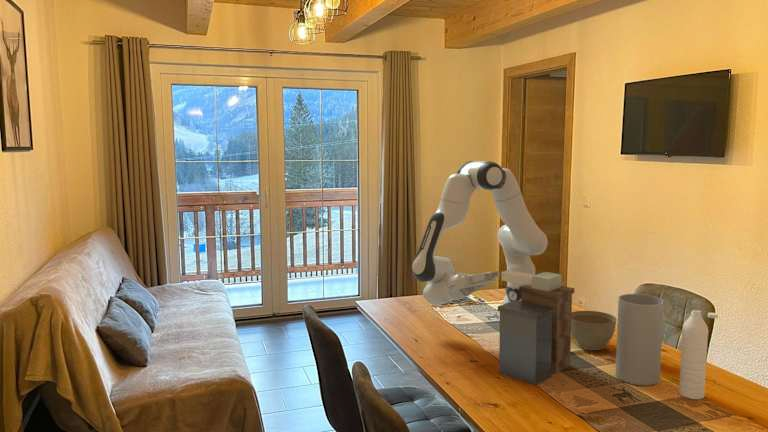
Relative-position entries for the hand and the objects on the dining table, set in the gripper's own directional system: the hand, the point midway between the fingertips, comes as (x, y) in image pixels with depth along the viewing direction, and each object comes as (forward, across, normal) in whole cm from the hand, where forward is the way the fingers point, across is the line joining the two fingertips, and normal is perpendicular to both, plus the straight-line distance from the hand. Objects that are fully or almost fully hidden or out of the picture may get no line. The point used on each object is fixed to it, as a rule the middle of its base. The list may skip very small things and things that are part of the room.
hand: (491, 274), depth 203 cm
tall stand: (+9, 0, +33) cm, 35 cm away
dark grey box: (+8, -12, +34) cm, 37 cm away
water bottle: (+48, +5, +52) cm, 71 cm away
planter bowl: (+14, +25, +34) cm, 44 cm away
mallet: (+14, -2, +7) cm, 16 cm away
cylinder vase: (+33, +8, +44) cm, 56 cm away
